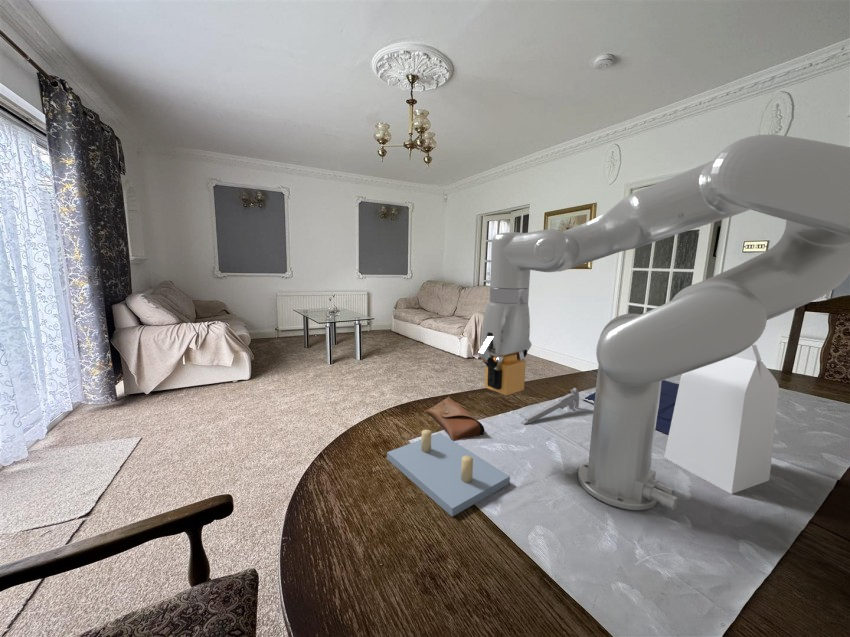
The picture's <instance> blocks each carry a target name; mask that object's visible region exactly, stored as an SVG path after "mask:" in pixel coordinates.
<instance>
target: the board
mask: <svg viewBox="0 0 850 637" xmlns="http://www.w3.org/2000/svg"><path fill="white" fill-rule="evenodd" d="M386 459H387V460H388V461H389V462H390V463H391V464H392V466H395V468H396V469H398V470H399V471H400V472H401V473H402V474H403V475H404V476H405V477H407V478H408V479H409V480H410V481H411V482H413V483H414V485H416V486H417V487H418V488H419V490H421V491H423V492H424V493H425V494H426V495H427V496H428V497H429V498H430V499H432V500H433V501H434V502H435V503H436V504H437V506H439V507H440V508H441V509H442V510H444V511H445V512H446V513H447V514H448V515H449V516H450V517H454V516H456V515H458V514H460V513H461V512H464V510H466V509H469V508H470V507H471V506H473V505H476V504H477V503H479V502H480V501H482V500H484V499H486V498H487V497H490V496H491V495H493V494H494V493H496V492H498V491H500V490H502V489H503V488H505V487H506V486H508V485H509V484H510V482H511V481H510V479H511V478H510V477H511V476H510V475H508V474H507V473H505V472H503V471H502V470H500V468H497V467H496V466H494V465H493V464H491V463H489V462H488V461H486V460H485V459H484V458H482V457H480V456H478V455H477V454H475V453H473V452H472V451H470V450H469V449H467V448H466V447H463V445H460V444H459V443H458V442H457V441H453V440H452V439H451V438H450V437H449V436H446V435H444V434H443V433H441V432H438V433H435V434H433V435H432V430H430V429H423V430H421V439H419V440H416V441H414V442H411V443H409V444H405V445H403V446H401V447H398V448H395V449H392V450H390V451H387V452H386Z"/></svg>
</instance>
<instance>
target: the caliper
mask: <svg viewBox="0 0 850 637" xmlns="http://www.w3.org/2000/svg"><path fill="white" fill-rule="evenodd" d="M579 394H580V393H579V391H578V390H577V388H576V387H573V388H572V389H570V393H568V394H565V395H564V396H561V397H559V399H558V400H557V401H555V402H553V403H552V404H549V405H548V406H546V407H543V408H541V409H540V410H537V411H535V412H534V413H532V414H530V415H528V416H526V417H525V418H524V420H522V421H521V422H520V423H521V424H522V425H527V424H528V423H529V424H532V423H534V422H536V421H538V420H540V419H542V418H543V417H545V416H547V415H549V414H552V412H555V411H556V410H558V409H561V410H564V408H567V407H568V408H569V409H570V410H571V409H574V410H575V409H576V408H578V409H579V404H580V395H579ZM574 407H576V408H574ZM531 422H532V423H531Z"/></svg>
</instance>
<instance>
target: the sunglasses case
mask: <svg viewBox="0 0 850 637" xmlns="http://www.w3.org/2000/svg"><path fill="white" fill-rule="evenodd" d="M424 412H425V413H427V414H428V415H429V416H430V417H431V418H432V419H433V420H434V421H435V422H436V423H437V424H438V425H439V426H440V427H441V428H442V429H443V430H444V432H446V434H447V435H448V437H449V438H450V439H451V440H453V441H454V442H457V441H460V440H466V439H470V438H476V437H480V436H481V437H482V436H484V435H485V426H484V425H483V424H482V423H481V422H480V421H479V420H477V419H476V418H475V417H474V416H473V415H472V414H471V413H470V412H469V411H467V410H466V409H465V408H464V407H462V406H461V405H460V404H459V403H457V402H456V401H455V400H453V398H451V397H450V396H449V395H447V398H445V399H443V400H441V401H440V402H438V403H437V404H435V405H434V406H432V407H430V408H429V409H427V410H425V411H424Z"/></svg>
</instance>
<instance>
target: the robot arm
mask: <svg viewBox="0 0 850 637" xmlns="http://www.w3.org/2000/svg"><path fill="white" fill-rule="evenodd" d="M748 211H754V212H758V213H759V214H760V213H761V214H764V215H766V216H771V217H773V218H778V219H781V220H785V229H784V231H783V233H782V235H781V237H780V239H779V240H778V241H777V243H775V245H773V246H772V247H770V248H769V249H767V250H766V251H764V252H762V253H760V254H758V255H756V256H754V257H752V258H750V259H747V260H746V261H744V262H743V263H740V264H739V265H736V266H734V267H732V268H729V269H728V270H724V271H723V272H721V273H718V274H716V275H714V276H712V277H709V278H706V279H704V280H702V281H699V282H696V283H692V284H691V285H689V286H687V287H684V288H682V289H681V290H680V291H678V293H676V294H675V295H674V296H673V297H672V299H671V300H670V301H668V302H666V303H663V304H661V305H660V306H657V307H654V308H653V309H651V310H648V311H646V312H644V313H642V314H639V313H626V314H621V315H618V316H616V317H614V318H613V319H611V320H610V321H609V322H607V324H606V325H605V326H604V328H602V331H601V333H600V336H599V338H598V341H597V344H596V350H595V351H596V360H597V363H598V366H597V377H596V382H595V383H596V385H595V392H596V393H595V392H594V393H595V401H594V404H593V410H592V411H593V412H592V423H591V424H592V425H591V433H590V444H589V452H588V453H589V454H588V455H589V456H588V462H586V463H583V464H582V465H581V466H580V467H579V468H578V474H577V479H578V482H579V483H580V485H581V486H582V488H583V490H585V491H586V492H587V493H589V494H590V495H591V496H593V497H594V498H596V499H597V500H599V501H601V502H603V503H605V504H608V505H610V506H613V507H616V508H620V509H625V510H631V511H643V510H648V509H651V508H653V507H654V506H655V505H656V504H657V503H660V504H661V505H663V506H665V507H666V508H668V509H671V510H673V511H674V510H676V507H677V506H678V505H677V504H678V497H677V496H674V492H675V491H674V489H673V488H671V487H670V486H667V485H664V484H661V483H659V481H658V480H656V475H657V474H656V473H657V471H655V470H653V469H651V466H652V459H653V458H652V457H653V451H654V450H653V449H654V442H655V434H656V421H657V414H658V408H659V400H660V391H661V381H663V380H666V381H667V380H669V379H671V378H675V377H677V376H680V375H681V376H682V374H684V373H687V372H690V371H693V370H695V369H698V368H701V367H704V366H707V365H710V364H713V363H716V362H719V361H721V360H724V359H727V358H730V357H732V356H734V355H736V354H738V353H740V352H742V351H744V350H746V349H747V348H749V347H750V346H751V345H753V344H756V342H758V340H759V339H760V338H761V337H762V335H763V333H764V331H765V330H766V326H767V321H768V320H769V321H770V320H771V319H774V318H777V317H778V316H781V315H783V314H786V313H788V312H790V311H793V310H795V309H798V308H799V307H802V306H805V305H808V304H809V303H811V302H814V301H816V300H818V299H820V298H821V297H823V296H825V295H827V294H829V293H830V292H832V291H833V290H835V289H836V288H837V287H838V286H840V285H841V284H842V283H843V282H844V281H845V280H846V279H847V278H848V277H849V276H850V146H845V145H840V144H835V143H830V142H823V141H818V140H812V139H807V138H801V137H795V136H787V135H780V134H757V135H750V136H747V137H744V138H740V139H738V140H737V141H734V142H732V143H730V144H729V145H728V146H726V147H725V148H724V149H722V150H721V151H720V152H719V153H718V154H717V155H716V156H715V158H714V159H713V160H711V161H709V162H707V163H704V164H701V165H699V166H696V167H693V168H691V169H688V170H687V171H685V172H683V173H680V174H679V173H678V175H674V176H672V177H669V178H666V179H665V180H662V181H659V182H657V183H655V184H652V185H650V186H647V187H645V188H642V189H640V190H637V191H635V192H633V193H631V194H629V195H627V196H626V197H624V198H623V199H621V200H620V201H618V203H617V204H615V205H614V206H612V207H611V208H610V209H608V210H607V211H606V212H604V213H603V214H601V215H599V216H597V217H594V218H592V219H591V220H589V221H585V222H584V223H582V224H579V225H576V226H574V227H571V228H569V229H566V230H563V231H561V230H558V229H555V228H554V229H553V228H552V229H551V228H550V229H549V228H548V229H541V230H536V231H529V232H515V231H514V232H511V231H510V232H500V233H496V234H495V235H494V236H493V238H492V240H491V252H490V254H491V255H490V257H491V258H490V275H489V276H490V279H489V303H487V304H486V306H485V309H484V315H483V321H482V325H481V326H482V327H481V328H482V329H481V337H480V349H479V351H478V353H477V355H478V357H479V358H480V359H481V360H482V361H483V364H485V368H486V367H487V368H488V383H487V384H488V386H490V387H492V388H495V389H497V390H499V389H501V384H502V370H500V367H501V363H502V359H503V356H504V355H509V354H513V353H517V359H519V360H523V361H526V360H525V358H526V357H527V354H528V352H529V350H530V349H531V347H532V342H531V341H530V335H531V334H530V332H531V330H530V328H531V326H530V325H531V323H530V322H531V321H530V308H529V296H530V282H531V281H530V280H531V278H530V277H531V271H535V272H536V271H537V272H540V273H541V272H542V273H557V272H563V271H566V270H570V269H573V268H576V267H579V266H582V265H585V264H589V263H590V262H593V261H597V260H599V259H600V260H601V259H603V258H605V257H608V256H612V255H615V254H617V253H621V252H624V251H629V250H634V249H638V248H641V247H643V246H646V245H650V244H653V243H655V242H658V241H661V240H664V239H667V238H671V237H673V236H676V235H679V234H682V233H685V232H688V231H690V230H694V229H697V228H701V227H703V226H708V225H709V224H713V223H716V222H720V221H722V220H724V219H728V218H731V217H734V216H736V215H740V214H742V213H746V212H748ZM495 356H496V357H497V359H496V362H495V361H494V357H495Z"/></svg>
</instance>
